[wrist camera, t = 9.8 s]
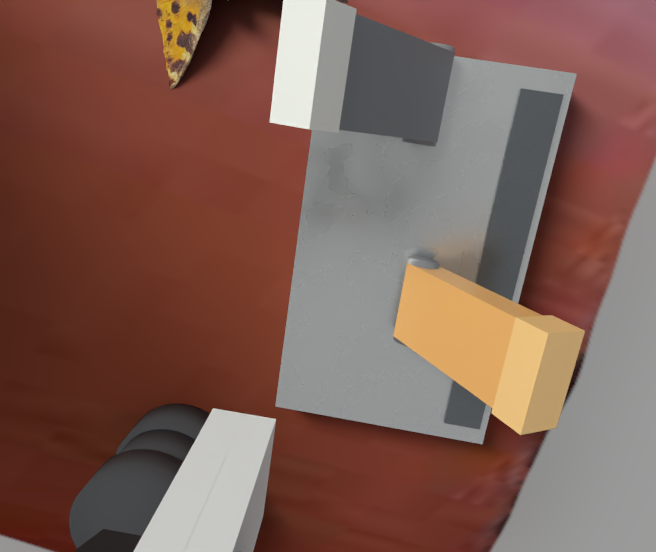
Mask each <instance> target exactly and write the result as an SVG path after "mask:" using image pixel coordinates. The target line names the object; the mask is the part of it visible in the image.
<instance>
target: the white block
mask: <svg viewBox="0 0 656 552" xmlns="http://www.w3.org/2000/svg"><path fill="white" fill-rule="evenodd" d="M356 10H357V9H355V8H353V7H350V6H348V5H346V4H343V3H341V2H338V1H336V0H283V7H282V16H281V25H280V34H279V43H278V52H277V61H276V70H275V79H274V88H273V97H272V106H271V115H270V123H276V124H282V125H288V126H293V127H299V128H305V129H311V130H319V131H328V132H336V133H339V130H344V131H352V132H360V133H367V134H375V135H383V136H391V137H399V138H403V140H402V141H403V142H408V143H414V144H420V145H427V146H435V147H436V142H437V141H438V136H439V131H440V126H441V121H442V116H443V111H444V106H445V100H446V95H447V90H448V85H449V80H450V75H451V70H452V65H453V59H454V54H455V53H454V49H455V48H454V47H452V46H449V45H445V44H439V43H429V42H426V41H424V40H421V39H419V38H416V37H414V36H411V35H409V34H406V33H404V32H401V31H398V30H396V29H393V28H391V27H388V26H386V25H383V24H381V23H378V22H376V21H373V20H370V19H368V18H365V17H363V16H360V15H358V14H356Z"/></svg>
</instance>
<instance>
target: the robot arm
mask: <svg viewBox="0 0 656 552" xmlns="http://www.w3.org/2000/svg"><path fill="white" fill-rule="evenodd" d="M275 423H276V419H272V418H266V417H261V416H255V415H249V414H243V413H238V412H232V411H226V410H220V409H214V408H213V409H212V411H211V413H210V415H209V417H208V418H207V420H206V422H205V424H204V426H203V427H202V429H201V431H200V433H199V435H198V436H197V438H196V440H195V442H194V444H193V445H192V447H191V449H190V451H189V453H188V454H187V456H186V458H185V460H184V462H183V463H182V465H181V467H180V469H179V471H178V472H177V474H176V476H175V478H174V480H173V481H172V483H171V485H170V487H169V489H168V490H167V492H166V494H165V496H164V498H163V499H162V501H161V503H160V505H159V507H158V508H157V510H156V512H155V514H154V516H153V517H152V519H151V521H150V523H149V525H148V526H147V528H146V530H145V532H144V534H143V535H142V536H140V535H135V534H129V533H124V532H118V531H113V530H107V529H103V530H101V531H100V532H99V533H97V534H96V535H95V536H93V537H92V538H91V539H89V540H88V541H87V542H85V543H84V544H83V545H81V546H80V547H79V548H78V549H77V550H76V551H75V552H253V550H254V547H255V543H256V540H257V536H258V533H259V529H260V525H261V522H262V518H263V514H264V506H265V499H266V491H267V484H268V476H269V469H270V461H271V454H272V446H273V439H274V431H275Z"/></svg>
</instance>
